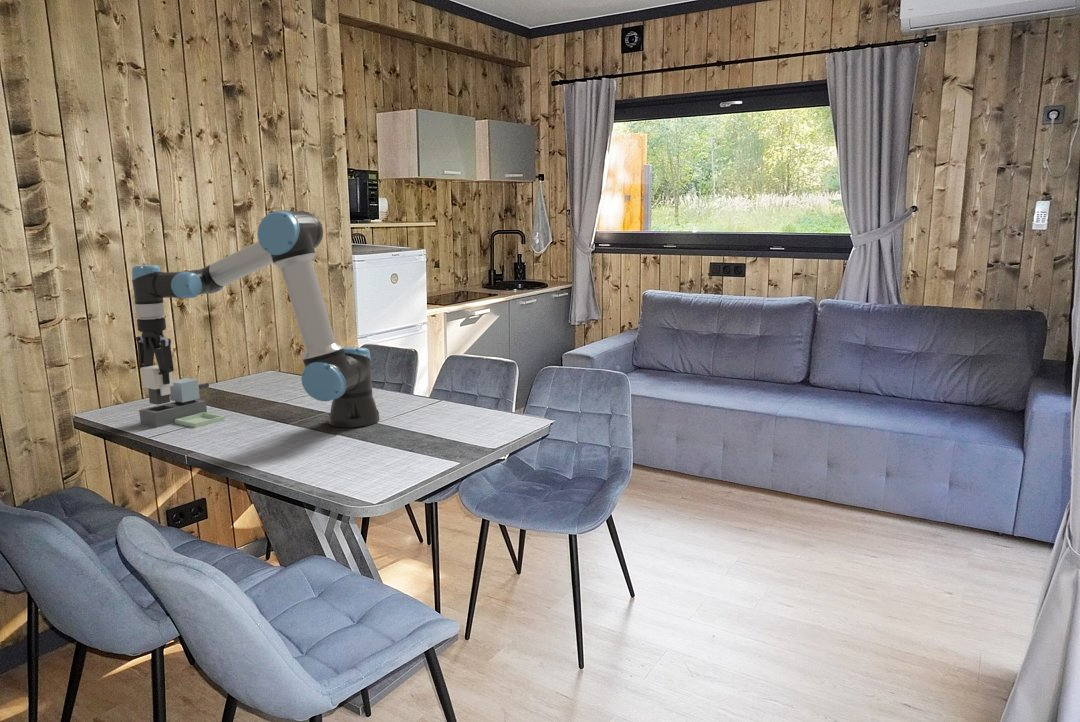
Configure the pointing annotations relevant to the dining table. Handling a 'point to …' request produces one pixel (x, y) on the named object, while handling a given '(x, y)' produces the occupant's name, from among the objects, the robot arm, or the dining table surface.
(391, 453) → the dining table surface
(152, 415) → the strip
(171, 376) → the plug
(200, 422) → the tray
